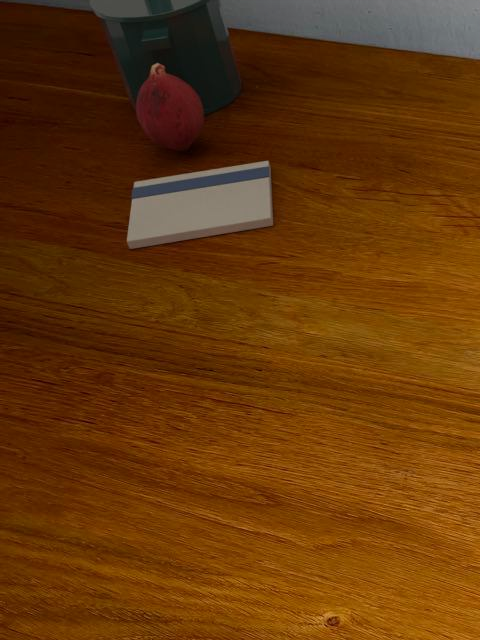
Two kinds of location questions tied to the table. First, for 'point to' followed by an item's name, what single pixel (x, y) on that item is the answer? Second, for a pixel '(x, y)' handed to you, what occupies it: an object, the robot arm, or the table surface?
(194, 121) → the onion
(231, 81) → the pot
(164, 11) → the pot lid
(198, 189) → the towel
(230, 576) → the table surface
